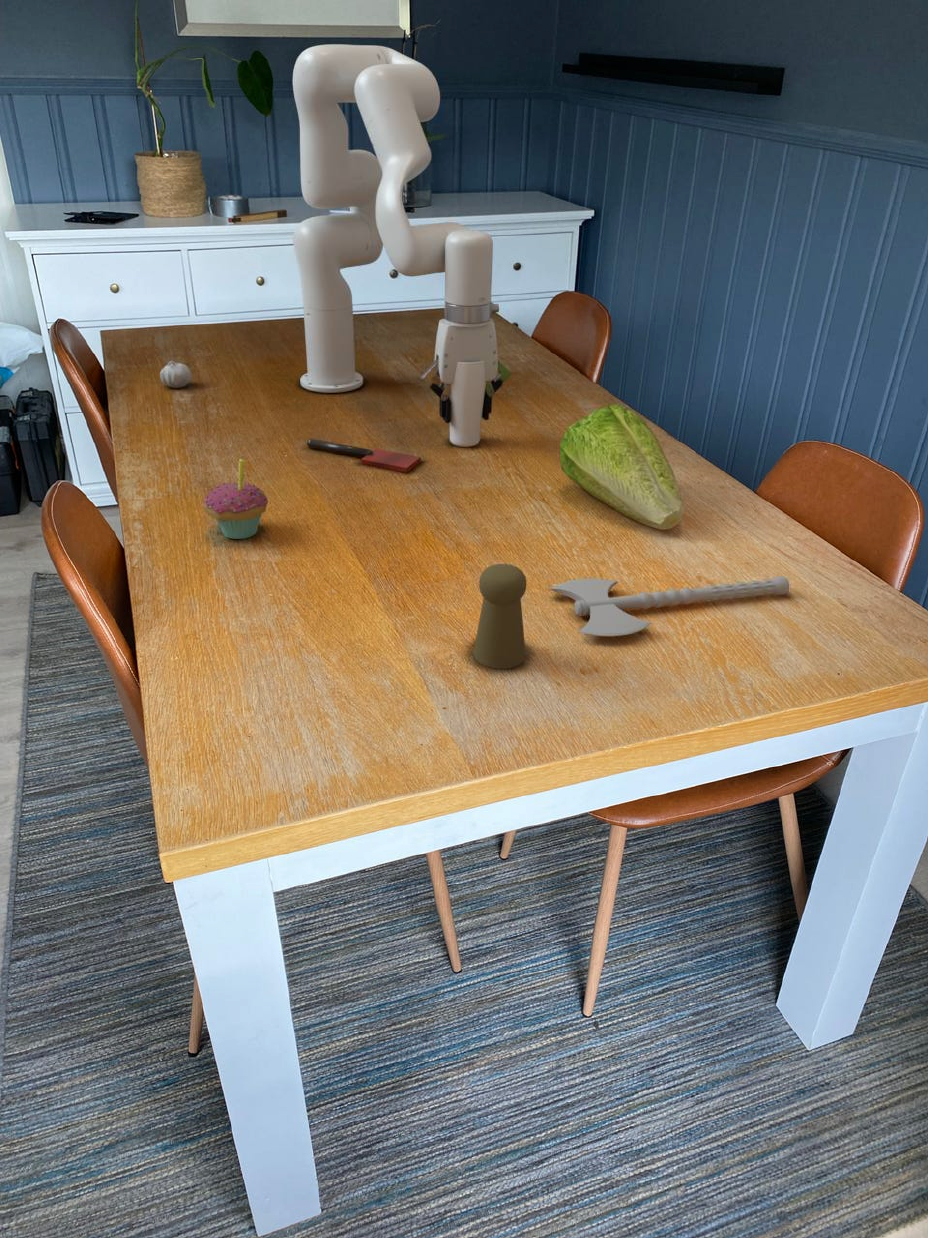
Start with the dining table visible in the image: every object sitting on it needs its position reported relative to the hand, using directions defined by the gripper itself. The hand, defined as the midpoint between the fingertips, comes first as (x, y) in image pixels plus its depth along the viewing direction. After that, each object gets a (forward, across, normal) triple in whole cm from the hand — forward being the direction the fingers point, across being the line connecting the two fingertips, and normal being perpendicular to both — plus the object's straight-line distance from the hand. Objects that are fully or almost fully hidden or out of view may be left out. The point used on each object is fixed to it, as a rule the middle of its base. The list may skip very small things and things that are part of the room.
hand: (465, 418), depth 164 cm
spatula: (+4, +18, +3) cm, 19 cm away
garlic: (+5, +47, -43) cm, 64 cm away
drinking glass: (+5, 0, 0) cm, 5 cm away
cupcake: (+5, +41, +26) cm, 49 cm away
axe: (+5, -10, +60) cm, 61 cm away
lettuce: (+5, -16, +31) cm, 36 cm away
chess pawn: (+5, +15, +65) cm, 67 cm away
